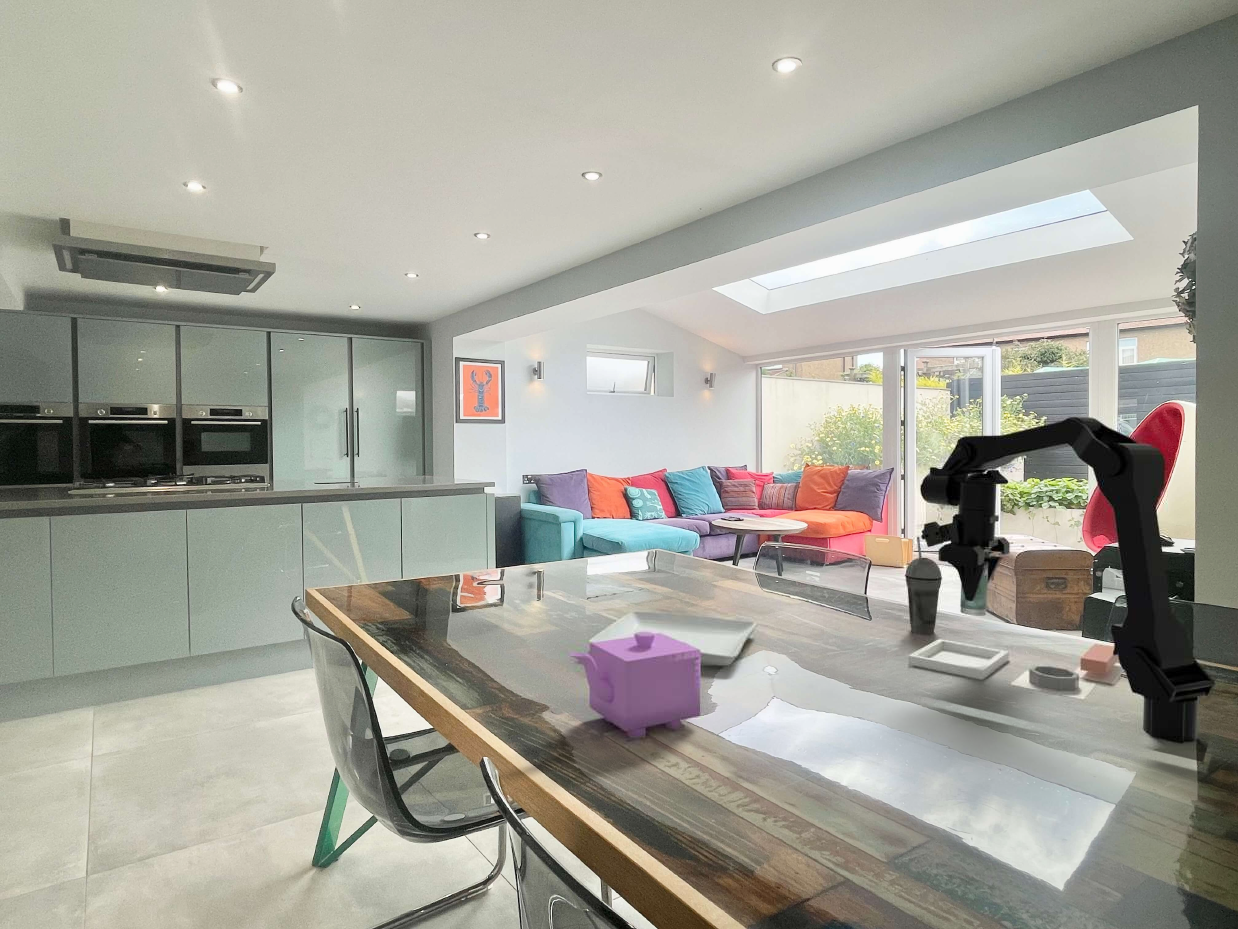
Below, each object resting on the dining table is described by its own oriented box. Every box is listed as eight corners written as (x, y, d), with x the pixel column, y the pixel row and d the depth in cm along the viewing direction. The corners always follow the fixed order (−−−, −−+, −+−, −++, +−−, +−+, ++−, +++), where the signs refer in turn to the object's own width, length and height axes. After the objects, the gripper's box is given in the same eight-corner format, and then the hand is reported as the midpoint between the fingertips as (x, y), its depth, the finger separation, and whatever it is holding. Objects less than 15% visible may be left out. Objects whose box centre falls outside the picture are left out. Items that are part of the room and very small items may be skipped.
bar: (1106, 674, 118) (1106, 662, 118) (1080, 669, 120) (1080, 657, 120) (1119, 659, 127) (1119, 647, 127) (1094, 654, 129) (1095, 643, 129)
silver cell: (981, 617, 123) (984, 559, 122) (956, 612, 126) (958, 556, 125) (989, 613, 126) (991, 557, 125) (964, 608, 129) (967, 553, 128)
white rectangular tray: (982, 685, 118) (982, 670, 118) (908, 669, 126) (908, 655, 126) (1008, 665, 129) (1008, 651, 129) (938, 652, 137) (939, 639, 137)
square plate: (736, 677, 123) (736, 654, 123) (585, 661, 131) (585, 639, 131) (758, 637, 148) (758, 618, 148) (631, 626, 157) (631, 608, 157)
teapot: (673, 701, 110) (674, 618, 110) (714, 723, 101) (715, 634, 101) (553, 725, 100) (553, 635, 100) (586, 752, 91) (587, 653, 91)
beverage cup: (945, 637, 148) (946, 539, 148) (907, 635, 150) (909, 538, 149) (936, 628, 155) (938, 535, 155) (900, 626, 157) (902, 534, 156)
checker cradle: (1099, 709, 108) (1099, 689, 107) (1010, 690, 116) (1010, 672, 116) (1128, 670, 127) (1128, 653, 127) (1049, 656, 135) (1050, 640, 135)
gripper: (947, 502, 137) (944, 584, 138) (908, 508, 124) (905, 599, 124) (1012, 506, 130) (1008, 593, 130) (978, 514, 116) (975, 611, 117)
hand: (973, 598), depth 126 cm, fingers closed on silver cell, 4 cm apart
